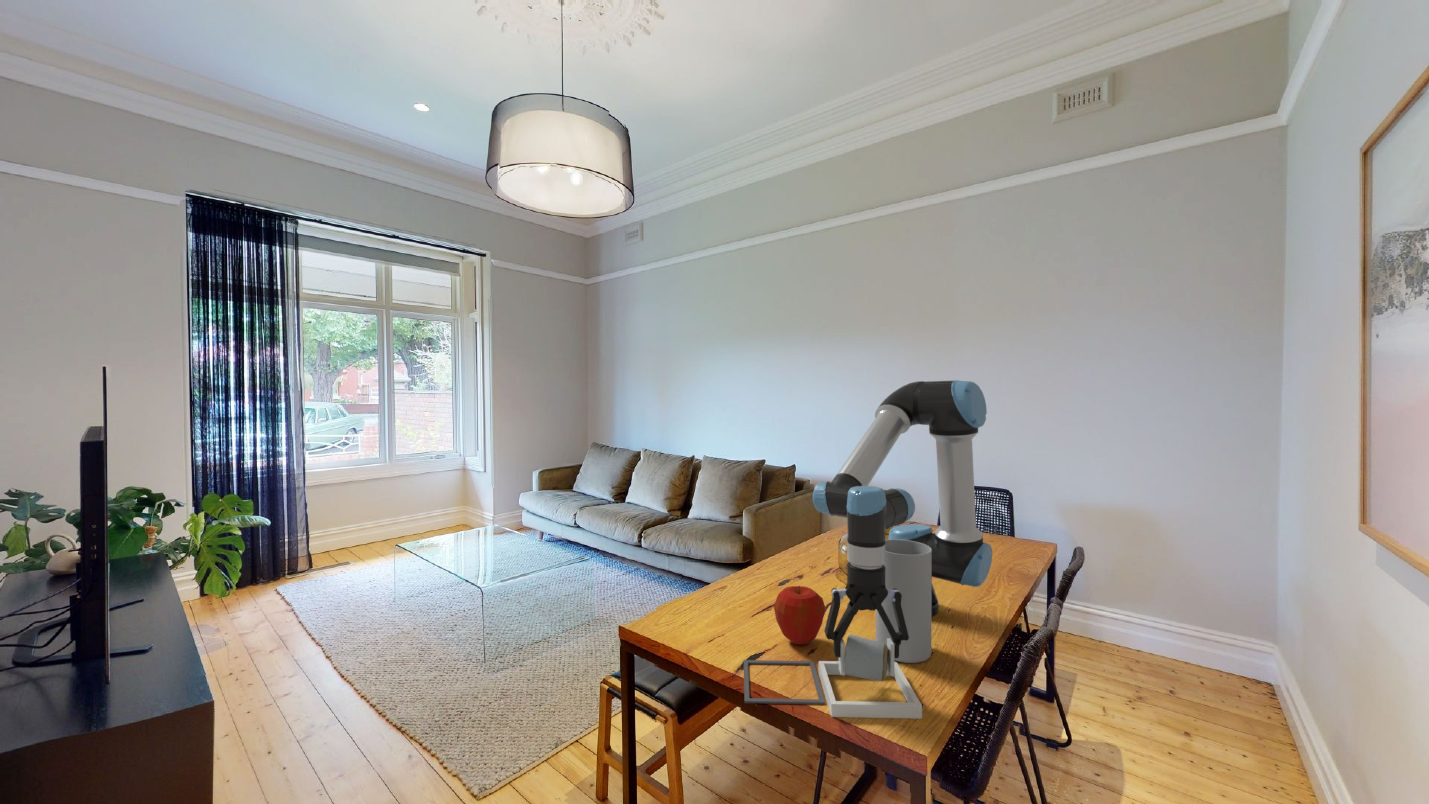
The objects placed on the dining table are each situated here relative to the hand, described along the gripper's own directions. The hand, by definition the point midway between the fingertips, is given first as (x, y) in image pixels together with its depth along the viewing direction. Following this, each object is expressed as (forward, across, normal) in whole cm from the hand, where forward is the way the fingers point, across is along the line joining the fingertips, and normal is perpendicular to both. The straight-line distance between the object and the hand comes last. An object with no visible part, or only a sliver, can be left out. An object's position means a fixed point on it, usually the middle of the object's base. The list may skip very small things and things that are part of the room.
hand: (866, 672), depth 108 cm
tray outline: (+5, +17, -4) cm, 18 cm away
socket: (+4, 0, -1) cm, 5 cm away
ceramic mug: (+1, 0, -1) cm, 1 cm away
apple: (+5, +11, -22) cm, 25 cm away
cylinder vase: (+5, -13, -18) cm, 23 cm away
